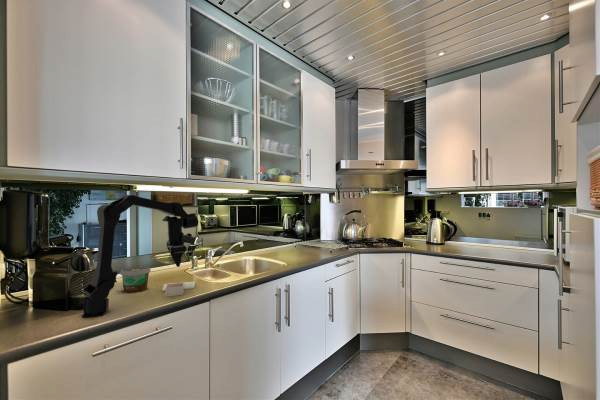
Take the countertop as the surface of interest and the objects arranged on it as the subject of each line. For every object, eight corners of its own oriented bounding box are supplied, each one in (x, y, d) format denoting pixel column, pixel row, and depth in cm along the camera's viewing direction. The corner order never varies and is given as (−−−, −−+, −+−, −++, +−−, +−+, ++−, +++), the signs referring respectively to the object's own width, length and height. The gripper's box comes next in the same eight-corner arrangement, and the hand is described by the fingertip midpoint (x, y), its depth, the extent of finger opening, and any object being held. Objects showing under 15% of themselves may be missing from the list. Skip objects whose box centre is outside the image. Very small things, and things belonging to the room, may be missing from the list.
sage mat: (161, 291, 125) (161, 290, 125) (164, 285, 134) (164, 283, 134) (194, 288, 129) (194, 287, 129) (195, 282, 139) (195, 281, 139)
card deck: (183, 295, 121) (183, 285, 121) (165, 296, 119) (165, 287, 119) (183, 291, 126) (183, 282, 126) (166, 293, 123) (166, 284, 123)
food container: (115, 294, 120) (115, 271, 120) (120, 290, 126) (120, 268, 126) (146, 292, 123) (147, 270, 123) (150, 288, 129) (150, 267, 129)
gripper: (197, 230, 120) (199, 266, 121) (190, 226, 136) (192, 257, 137) (169, 233, 114) (171, 270, 115) (165, 228, 130) (167, 261, 131)
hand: (176, 264), depth 125 cm, fingers open, 9 cm apart
